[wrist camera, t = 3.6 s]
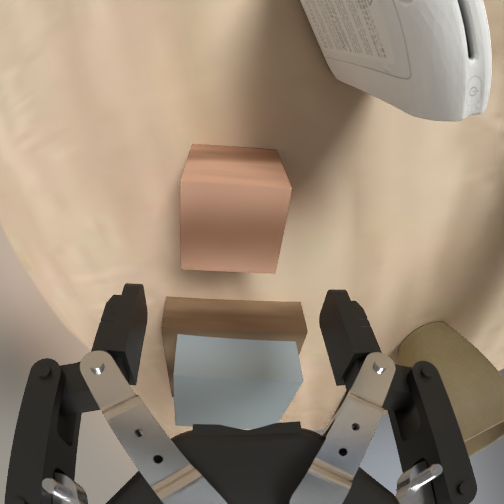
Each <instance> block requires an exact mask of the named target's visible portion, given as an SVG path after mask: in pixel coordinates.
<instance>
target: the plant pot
mask: <svg viewBox="0 0 504 504" xmlns="http://www.w3.org/2000/svg"><path fill="white" fill-rule="evenodd" d="M419 361H427V362H430V363H431V364H433V365H434V366H435V367H436V368H437V370H438V372H439V374H440V376H441V379H442V381H443V384H444V387H445V389H446V392H447V394H448V397H449V400H450V402H451V405H452V408H453V411H454V413H455V416H456V419H457V422H458V425H459V428H460V431H461V434H462V437H463V440H464V443H465V446H466V449H467V453H468V456H469V457H470V456H472V455H474V454H475V453H477V452H479V451H480V450H482V449H484V448H486V447H487V446H489V445H490V444H492V443H493V442H495V441H496V440H498V439H499V438H501V437H502V436H504V378H503V376H502V375H501V374H500V373H499V372H498V370H497V369H496V368H495V367H494V366H493V365H492V364H491V362H490V361H489V360H488V359H487V358H486V357H485V356H484V355H483V354H482V353H481V352H480V351H479V350H478V349H477V348H476V347H475V346H474V345H472V344H471V343H470V342H469V341H468V340H467V339H466V338H464V337H463V336H462V335H461V334H459V333H458V332H457V331H456V330H454V329H453V328H452V327H450V326H449V325H447V324H446V323H444V322H432V323H429V324H426V325H424V326H422V327H420V328H418V329H416V330H415V331H413V332H412V333H411V334H409V335H408V336H407V337H406V338H405V339H404V340H403V342H402V343H401V345H400V347H399V350H398V365H401V366H407V367H413V366H414V364H415V363H417V362H419Z"/></svg>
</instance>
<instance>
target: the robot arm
mask: <svg viewBox="0 0 504 504" xmlns="http://www.w3.org/2000/svg"><path fill="white" fill-rule="evenodd" d="M319 323H320V328H321V332H322V335H323V339H324V342H325V346H326V349H327V353H328V356H329V360H330V363H331V367H332V370H333V374H334V378H335V381H336V385H337V386H338V385H345V386H346V389H347V390H346V392H345V393H344V395H343V397H342V399H341V401H340V403H339V405H338V407H337V409H336V410H335V412H334V414H333V416H332V418H331V420H330V421H329V423H328V425H327V426H326V428H325V430H324V431H323V433H322V434H321V435H320V434H318V433H316V432H314V431H311V430H308V429H304V428H301V425H300V422H287V423H274V424H270V425H267V426H263V427H260V428H256V429H252V430H242V429H237V428H233V427H228V426H224V425H218V424H193V430H192V431H187V432H184V433H181V434H179V435H177V436H175V437H173V438H171V439H170V438H169V437H168V435H167V434H166V433H165V431H164V430H163V429H162V427H161V426H160V425H159V423H158V422H157V421H156V419H155V418H154V416H153V415H152V414H151V412H150V411H149V409H148V408H147V407H146V405H145V404H144V402H143V401H142V400H141V398H140V397H139V396H138V395H136V394H135V393H134V391H133V390H132V388H131V387H130V385H136V382H137V376H138V370H139V364H140V358H141V352H142V346H143V341H144V336H145V330H146V325H147V306H146V300H145V293H144V287H143V285H142V284H128V283H126V284H125V286H124V289H123V292H122V295H113V296H112V297H111V298H110V300H109V301H108V302H107V303H106V306H105V309H104V312H103V315H102V318H101V322H100V324H99V327H98V331H97V334H96V337H95V341H94V344H93V347H92V350H91V352H90V353H88V354H86V355H85V356H84V357H83V358H82V360H81V361H80V362H78V363H74V364H68V365H62V366H59V364H58V363H57V362H56V361H55V360H52V359H47V358H46V359H41V360H39V361H37V362H36V363H35V364H34V365H33V366H32V368H31V370H30V374H29V377H28V381H27V384H26V388H25V392H24V396H23V399H22V403H21V407H20V412H19V416H18V420H17V425H16V430H15V434H14V440H13V445H12V450H11V457H10V463H9V469H8V476H7V485H6V494H5V504H88V499H87V495H86V492H85V490H84V489H83V488H82V487H81V486H80V485H79V484H77V483H76V482H75V481H74V477H75V464H76V454H77V445H78V436H79V428H80V421H81V414H82V413H83V412H89V411H95V410H101V411H102V413H103V415H104V417H105V418H106V420H107V422H108V423H109V425H110V427H111V429H112V430H113V432H114V433H115V435H116V437H117V438H118V440H119V441H120V443H121V445H122V446H123V448H124V449H125V451H126V452H127V454H128V455H129V457H130V458H131V460H132V461H133V463H134V464H135V466H136V467H137V468H138V470H139V471H138V472H137V473H136V474H135V475H134V476H133V477H132V478H131V479H130V480H129V481H128V482H127V483H126V484H125V485H124V486H123V487H122V488H121V489H120V490H119V491H118V492H117V493H116V494H115V495H114V496H113V497H112V498H111V499H110V500H109V501H108V502H107V503H106V504H469V503H470V502H471V501H472V500H473V499H474V498H475V495H476V492H477V485H476V480H475V477H474V473H473V470H472V466H471V463H470V459H469V456H468V453H467V449H466V446H465V443H464V440H463V437H462V434H461V431H460V428H459V425H458V422H457V419H456V416H455V413H454V411H453V408H452V405H451V402H450V400H449V397H448V394H447V392H446V389H445V387H444V384H443V381H442V379H441V376H440V374H439V372H438V370H437V368H436V367H435V366H434V365H433V364H431V363H430V362H427V361H419V362H417V363H415V364H414V366H413V367H407V366H401V365H396V364H394V362H393V360H392V359H391V358H390V357H389V356H388V355H386V354H384V353H382V352H381V350H380V347H379V345H378V342H377V340H376V338H375V335H374V333H373V330H372V328H371V327H370V323H369V321H368V320H367V316H366V314H365V312H364V309H363V308H362V307H361V306H360V305H359V304H358V303H357V302H356V301H351V300H350V298H349V295H348V293H347V291H346V290H328V292H327V295H326V298H325V301H324V304H323V307H322V310H321V313H320V318H319ZM384 409H385V410H388V414H389V417H390V421H391V425H392V429H393V433H394V437H395V441H396V445H397V449H398V454H399V458H400V462H401V467H402V471H403V474H402V475H401V476H400V477H399V479H398V482H397V489H396V490H397V494H396V496H394V495H393V494H392V493H391V492H390V491H389V490H387V489H386V488H385V487H383V486H382V485H381V484H380V483H379V482H377V481H376V480H375V479H373V478H372V477H371V476H369V474H367V473H366V472H365V471H364V470H362V469H361V468H360V467H359V466H360V464H361V462H362V460H363V458H364V455H365V453H366V451H367V449H368V447H369V445H370V442H371V440H372V437H373V436H374V433H375V431H376V429H377V426H378V424H379V421H380V419H381V417H382V414H383V411H384Z"/></svg>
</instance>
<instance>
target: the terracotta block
mask: <svg viewBox="0 0 504 504" xmlns="http://www.w3.org/2000/svg"><path fill="white" fill-rule="evenodd" d="M291 192H292V187H291V185H290V182H289V180H288V177H287V175H286V172H285V170H284V167H283V165H282V162H281V160H280V158H279V155H278V153H277V150H269V149H259V148H247V147H234V146H219V145H201V144H192V147H191V150H190V153H189V156H188V159H187V162H186V165H185V168H184V171H183V175H182V178H181V181H180V246H181V269H188V270H207V271H227V272H248V273H271V274H275V273H276V268H277V263H278V258H279V253H280V248H281V243H282V238H283V233H284V228H285V223H286V218H287V213H288V208H289V203H290V198H291Z"/></svg>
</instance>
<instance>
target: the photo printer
mask: <svg viewBox="0 0 504 504" xmlns="http://www.w3.org/2000/svg"><path fill="white" fill-rule="evenodd" d="M300 2H301V4H302V6H303V9H304V11H305V13H306V16H307V18H308V20H309V22H310V25H311V27H312V29H313V32H314V34H315V37H316V39H317V41H318V44H319V46H320V48H321V51H322V53H323V55H324V58H325V60H326V62H327V64H328V66H329V68H330V70H331V71H332V73H333V75H334V76H335V78H336V79H337V80H339V81H341V82H344V83H346V84H349V85H351V86H353V87H355V88H358V89H360V90H362V91H364V92H366V93H369V94H371V95H373V96H375V97H377V98H379V99H381V100H383V101H385V102H387V103H389V104H391V105H393V106H395V107H397V108H398V109H400V110H402V111H404V112H406V113H408V114H410V115H412V116H415V117H419V118H423V119H428V120H435V121H461V120H463V119H464V118H466V117H468V116H470V115H476V114H482V113H483V112H484V111H485V110H486V107H487V103H488V99H489V93H490V87H491V76H492V49H491V39H490V31H489V25H488V20H487V15H486V10H485V6H484V2H483V0H300Z"/></svg>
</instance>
